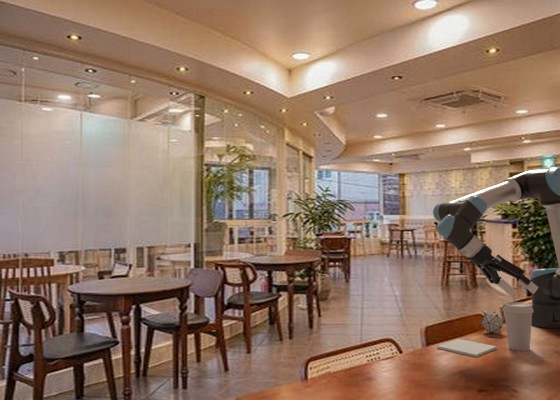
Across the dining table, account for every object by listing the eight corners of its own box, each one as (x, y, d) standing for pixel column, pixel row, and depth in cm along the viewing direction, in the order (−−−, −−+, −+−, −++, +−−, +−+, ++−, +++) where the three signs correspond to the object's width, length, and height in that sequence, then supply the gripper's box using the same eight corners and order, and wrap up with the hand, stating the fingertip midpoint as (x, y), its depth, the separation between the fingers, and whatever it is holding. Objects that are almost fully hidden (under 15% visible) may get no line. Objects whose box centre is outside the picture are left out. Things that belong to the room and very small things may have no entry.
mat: (458, 341, 177) (458, 338, 177) (496, 348, 166) (496, 346, 166) (437, 348, 168) (437, 346, 168) (476, 357, 157) (476, 354, 157)
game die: (498, 343, 186) (509, 326, 181) (475, 335, 188) (486, 317, 182) (497, 327, 194) (508, 310, 188) (476, 319, 195) (486, 302, 190)
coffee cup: (528, 344, 171) (526, 301, 171) (539, 352, 161) (538, 307, 162) (499, 344, 172) (498, 301, 172) (509, 352, 162) (508, 307, 163)
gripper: (455, 263, 182) (500, 303, 179) (486, 252, 158) (539, 297, 155) (467, 249, 184) (512, 288, 181) (499, 235, 160) (552, 280, 157)
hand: (524, 292), depth 168 cm, fingers open, 13 cm apart
